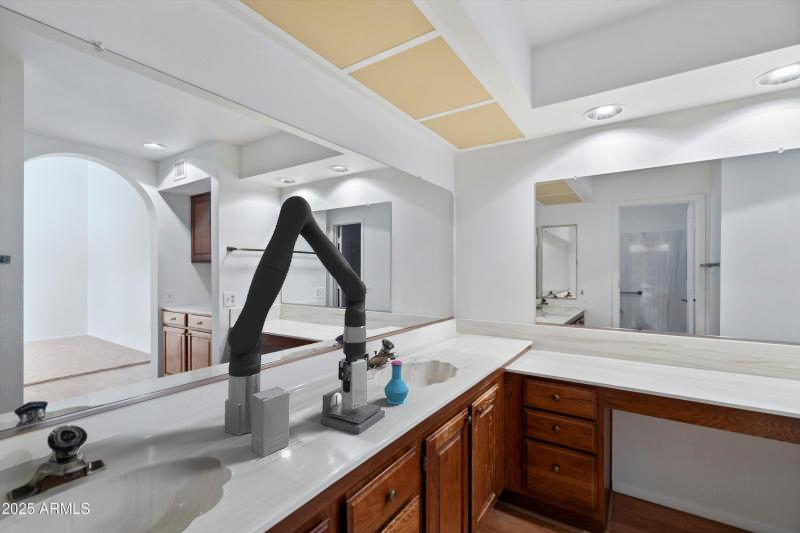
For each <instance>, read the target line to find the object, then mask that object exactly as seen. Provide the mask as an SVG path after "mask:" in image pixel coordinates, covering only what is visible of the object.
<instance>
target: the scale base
mask: <svg viewBox="0 0 800 533" xmlns="http://www.w3.org/2000/svg"><path fill="white" fill-rule="evenodd" d="M341 403H342V402H341V386H340V387H337V388H336V389H334V390H331V391H329V392H327V393H325V394H323V395H322V407H321V410H322V411H321V412H322V413H321V417H320V424H321V425H325V426H328V427H332V428H336V429H339V430H343V431H347V432H350V433H354V434H357V435H361V434H363V432H365V431H367V430H368V429H369V428H371V427H373V425H375V424H377V423H378V422H379V421H381V420H382V419H384V418H385V417H386V413H385V412H386V411H385V410H384V409H380V410H379V411H377V412H376V413H374V414H373V415H371V416H370V417H368V418H367V419H365V420H364V421H362V422H360V423H355V422H351V421H347V420H343V419H340V418H336V417H332V416H328V415H326V411H328V410H330V409H332V408H334V407H336V406H337V405H339V404H341Z"/></svg>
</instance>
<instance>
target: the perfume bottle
mask: <svg viewBox="0 0 800 533" xmlns="http://www.w3.org/2000/svg"><path fill="white" fill-rule="evenodd" d="M403 364H404V363H403V361H401V360H392V361H391V362H390V365H391V379H390V380H389V381H388V382H387V384H386V385H385V386H384V388H383V390H384V394H385V396H386V399H387V403H388V404H391V405H394V406H395V405H403V404H404V403H405V402H406V399H407V396H408V394H409V387H408V386H407V384H406V383H405V381H404V380H403V378H402V366H403Z"/></svg>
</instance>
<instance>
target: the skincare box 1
mask: <svg viewBox="0 0 800 533" xmlns="http://www.w3.org/2000/svg"><path fill="white" fill-rule="evenodd" d="M290 394H291V393H290V391H288V390H286V389H283V388H282V387H280V386H274V387H271V388H268V389H265V390H263V391H260V392H259V393H255V394H252V431H251V432H250V433H251V436H250V437H251V439H250V441H251V443H250V444H251V446H250V447H251V450H252V451H253V452H255V453H256V454H257V455H259V456H260V457H262V458H265V457H266V456H269V455H270V454H273V453H275V452H277V451H279V450H282V449H284V448H286V447H288V446H290V445H289V438H290V434H289V432H290Z"/></svg>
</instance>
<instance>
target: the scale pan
mask: <svg viewBox="0 0 800 533" xmlns="http://www.w3.org/2000/svg"><path fill="white" fill-rule="evenodd" d="M379 410H382V406H381V405H377V404H373V403H368V402H367V406H365V407H360V408H355V409H351V408H350V407H348V406H347V405H345V404H344V403H341V404H339V405H337V406H336V407H334V408H332V409H330V410H328V411H326V415H328V416H332V417H336V418H340V419H343V420H347V421H351V422H355V423H360V422H362V421H364V420H365V419H367V418H368V417H370V416H371V415H373V414H374V413H376V412H377V411H379Z"/></svg>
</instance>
